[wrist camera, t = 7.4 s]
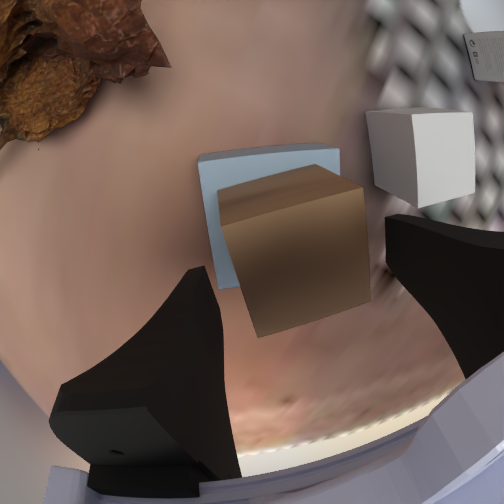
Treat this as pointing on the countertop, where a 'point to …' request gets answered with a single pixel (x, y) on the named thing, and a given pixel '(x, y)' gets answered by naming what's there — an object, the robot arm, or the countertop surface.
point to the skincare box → (486, 55)
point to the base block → (246, 169)
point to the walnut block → (297, 246)
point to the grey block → (423, 153)
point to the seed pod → (66, 59)
